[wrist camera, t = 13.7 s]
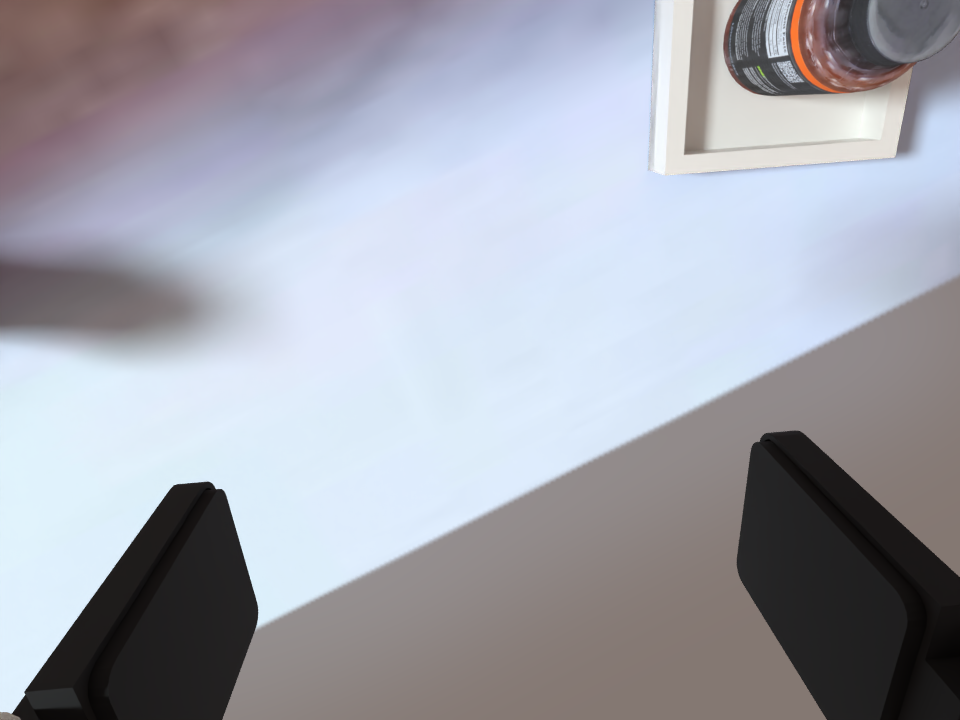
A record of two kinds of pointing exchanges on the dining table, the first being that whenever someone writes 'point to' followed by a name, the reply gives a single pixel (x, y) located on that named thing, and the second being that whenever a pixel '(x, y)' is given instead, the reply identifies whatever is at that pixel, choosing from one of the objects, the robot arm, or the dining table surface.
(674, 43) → the tray
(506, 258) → the dining table surface
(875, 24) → the supplement bottle
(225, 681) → the robot arm
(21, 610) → the dining table surface
